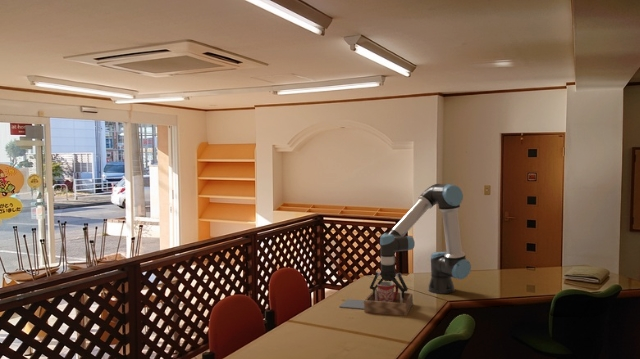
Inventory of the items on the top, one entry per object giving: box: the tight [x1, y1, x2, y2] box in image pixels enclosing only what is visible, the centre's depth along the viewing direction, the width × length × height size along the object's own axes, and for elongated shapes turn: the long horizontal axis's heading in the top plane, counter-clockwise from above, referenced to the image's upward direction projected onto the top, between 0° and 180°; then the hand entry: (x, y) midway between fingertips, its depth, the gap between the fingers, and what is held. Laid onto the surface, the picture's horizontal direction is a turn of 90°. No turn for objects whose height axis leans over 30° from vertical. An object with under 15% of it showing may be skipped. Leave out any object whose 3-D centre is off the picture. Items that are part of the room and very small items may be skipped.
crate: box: [363, 290, 414, 317], centre depth 256 cm, size 22×20×6 cm
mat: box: [339, 298, 365, 310], centre depth 263 cm, size 14×14×1 cm
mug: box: [376, 281, 399, 302], centre depth 255 cm, size 13×9×14 cm
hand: (388, 302), depth 256 cm, fingers open, 13 cm apart
